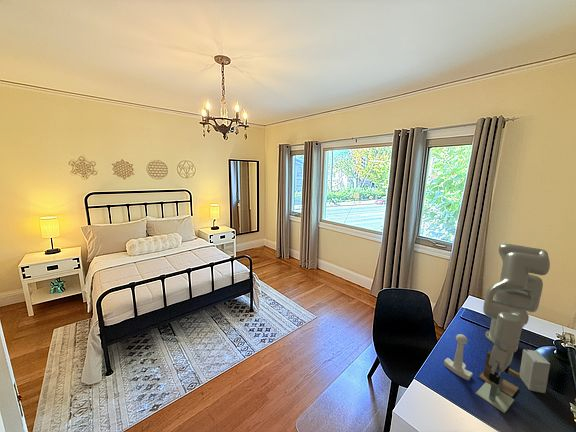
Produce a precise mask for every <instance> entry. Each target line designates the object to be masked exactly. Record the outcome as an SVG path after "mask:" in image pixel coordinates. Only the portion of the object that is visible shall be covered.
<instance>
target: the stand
mask: <svg viewBox="0 0 576 432" xmlns="http://www.w3.org/2000/svg"><path fill="white" fill-rule="evenodd" d="M491 352H492V350H489V351H488V352H487V353H486V359H485V366H484V369H483V370H484V371H482V373H481V374H480V375H479V376H478V379H480V380H481V381H483V382H484V383H485V382H487V383H488V384H490V385H491V384H492V381H490V380H489V374H490V371H491V368H492V366H493V365H492V366H490V365H489V360H490V356H491ZM519 373H520V372H518V371H515V370H513V369H511V367H509V371H508V373H507V374H510V375H512V376H514V377H515V378H517V379H519V378H520V374H519ZM503 379H504V380H503V385H502V390H501V392H503V393H504V394H506V395H508V396H509V397H511V398H513V397H514V395H515V394H516V393H517V392H518V391H519V389H520V388H519V387H518V386H516V384H513V383H511V382H510V381H508V380H507V379H505V378H503Z"/></svg>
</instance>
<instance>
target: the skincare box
mask: <svg viewBox="0 0 576 432" xmlns="http://www.w3.org/2000/svg"><path fill="white" fill-rule="evenodd" d="M550 369H551V363H550V362H549V361H548V360H547V358H545V357H544V356H543V355H542V354H541V352H539V351H538V350H531V349H525V348H524V349H523V350H522V356H521V363H520V368H519V372H518V373H519V374H520V377H519V378H520V380H521V381H522V382H523V383H524V384H525V386H526V387H527V389H528V390H529V391H532V392H536V393H541V394H546V393H547V392H546V391H547V386H548V380H549V374H550Z"/></svg>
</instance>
